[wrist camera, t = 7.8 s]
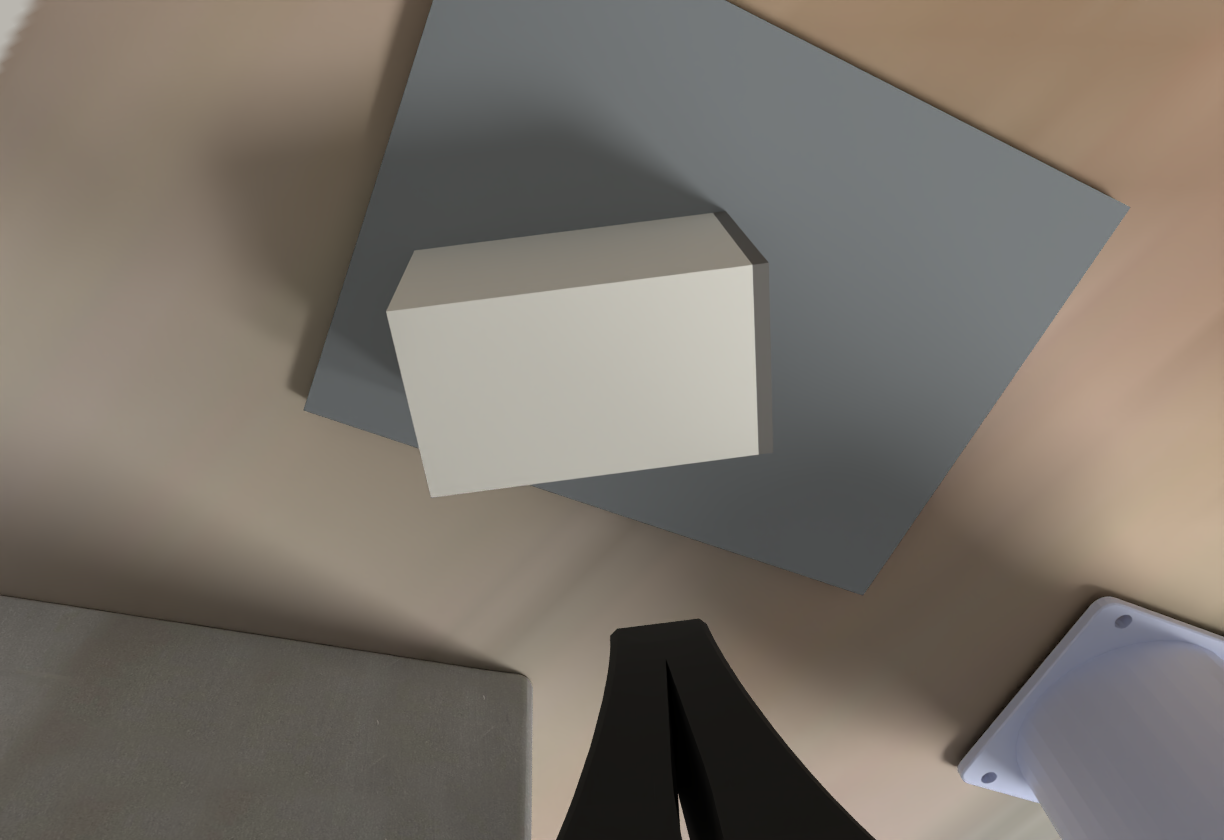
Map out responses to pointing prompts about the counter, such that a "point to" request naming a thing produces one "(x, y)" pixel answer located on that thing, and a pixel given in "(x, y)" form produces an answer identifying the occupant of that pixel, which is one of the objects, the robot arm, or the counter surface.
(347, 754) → the gray chamfered slab
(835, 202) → the rubber mat
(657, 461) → the cream block
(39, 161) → the counter surface
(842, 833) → the robot arm
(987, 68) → the counter surface
